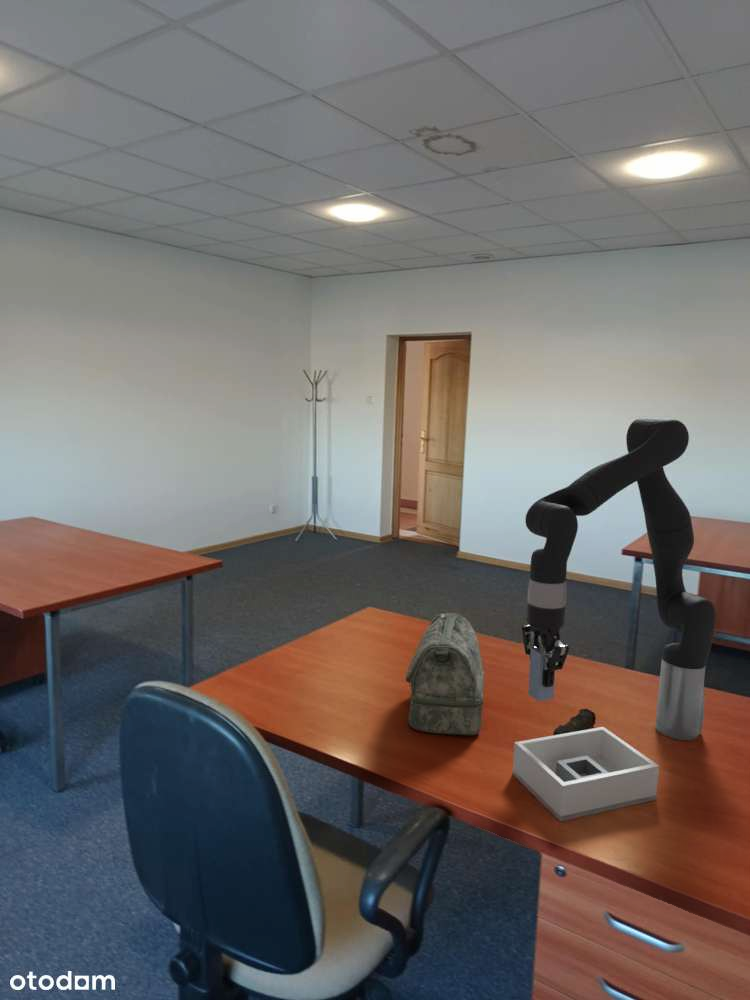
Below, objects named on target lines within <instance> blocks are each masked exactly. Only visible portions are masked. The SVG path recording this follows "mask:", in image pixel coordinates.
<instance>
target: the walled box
mask: <svg viewBox="0 0 750 1000" xmlns="http://www.w3.org/2000/svg"><path fill="white" fill-rule="evenodd" d="M513 748H514V749H513V764H512V776H513V777H515V778H516V780H518V781H519V782H520V783H521V785H523V786H524V787H525V788H526V789H527V790H528V791H529V792H530V793H531V794H532V795H533V796H534V797H535V798H536V799H537V800H538V801H539V802H540V803H541V804H542V805H543V807H545V808H546V809H547V810H548V811H549V812H550V813H551V814H552V815H553V816H554V818H555V819H557V820H558V821H559V822H565V821H568V820H569V821H570V820H574V819H578V818H582V817H587V816H592V815H596V814H600V813H605V812H608V811H612V810H616V809H622V808H625V807H629V806H635V805H638V804H642V803H646V802H651V801H656V800H657V792H658V783H659V782H658V780H659V770H660V766H659V764H657V763H656V762H654V761H653V760H651V759H650V758H649V757H647V756H646V755H644V754H643V753H642V752H640V751H639V750H637V749H636V748H634V747H633V746H631V745H630V744H628V743H627V742H626V741H624V740H623V739H622V738H620V737H619V736H617V735H616V734H615V733H613V732H611V731H610V730H609V729H607V728H606V727H604V726H599V727H594V728H586V729H585V730H582V731H576V732H570V733H565V734H559V735H553V734H552V735H549V736H544V737H537V738H532V739H526V740H519V741H514V747H513Z"/></svg>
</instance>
